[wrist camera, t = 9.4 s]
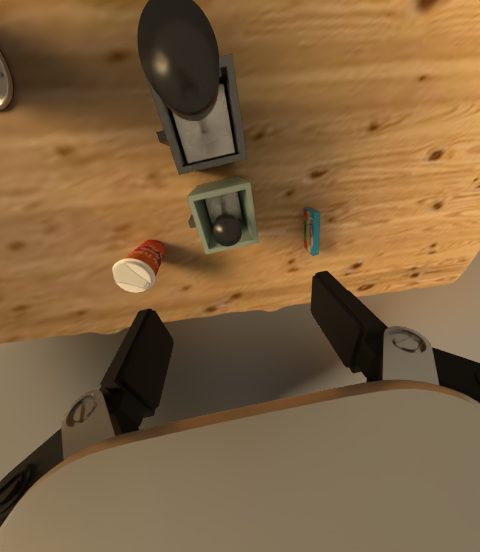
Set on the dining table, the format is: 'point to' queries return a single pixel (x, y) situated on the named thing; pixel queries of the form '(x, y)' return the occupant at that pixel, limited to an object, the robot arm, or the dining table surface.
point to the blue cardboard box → (311, 230)
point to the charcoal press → (229, 82)
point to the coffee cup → (139, 267)
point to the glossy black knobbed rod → (225, 218)
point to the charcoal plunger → (186, 74)
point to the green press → (202, 217)
